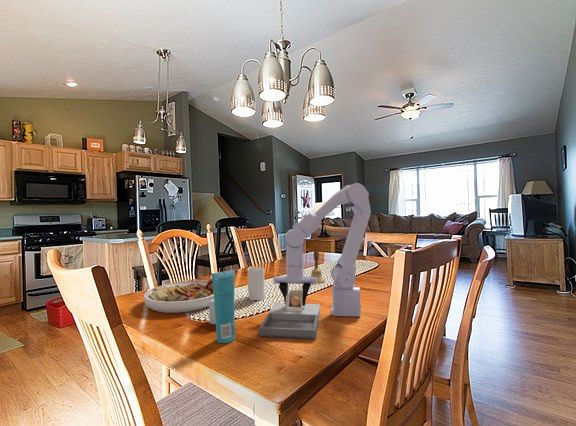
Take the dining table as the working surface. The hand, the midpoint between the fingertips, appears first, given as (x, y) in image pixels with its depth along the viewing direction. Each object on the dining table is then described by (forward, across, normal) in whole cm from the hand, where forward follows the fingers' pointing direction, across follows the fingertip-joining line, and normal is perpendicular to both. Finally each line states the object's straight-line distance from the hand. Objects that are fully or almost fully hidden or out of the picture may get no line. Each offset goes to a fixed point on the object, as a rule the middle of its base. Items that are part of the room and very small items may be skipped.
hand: (295, 304), depth 103 cm
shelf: (+3, 0, +1) cm, 4 cm away
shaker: (+1, 0, 0) cm, 1 cm away
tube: (+4, +17, +21) cm, 27 cm away
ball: (-1, 0, -1) cm, 1 cm away
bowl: (+4, +45, -10) cm, 46 cm away
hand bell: (+4, -4, -46) cm, 46 cm away
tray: (+3, 0, +12) cm, 12 cm away
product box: (+4, +23, +8) cm, 25 cm away
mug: (+4, +19, -18) cm, 26 cm away
